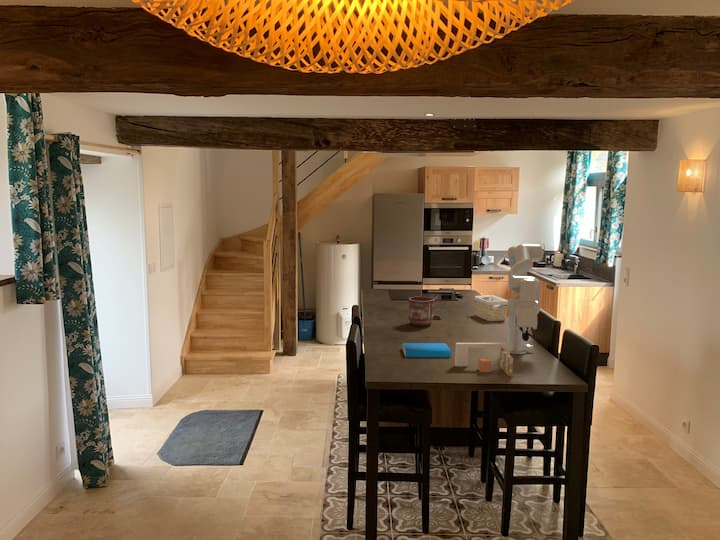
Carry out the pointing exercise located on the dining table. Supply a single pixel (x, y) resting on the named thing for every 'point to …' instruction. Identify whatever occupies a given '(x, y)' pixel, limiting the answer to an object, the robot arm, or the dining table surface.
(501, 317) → the storage basket
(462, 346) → the wall frame
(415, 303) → the pottery
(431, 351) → the book
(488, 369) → the salmon pink cube
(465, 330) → the dining table surface
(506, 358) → the beige wavy panel
